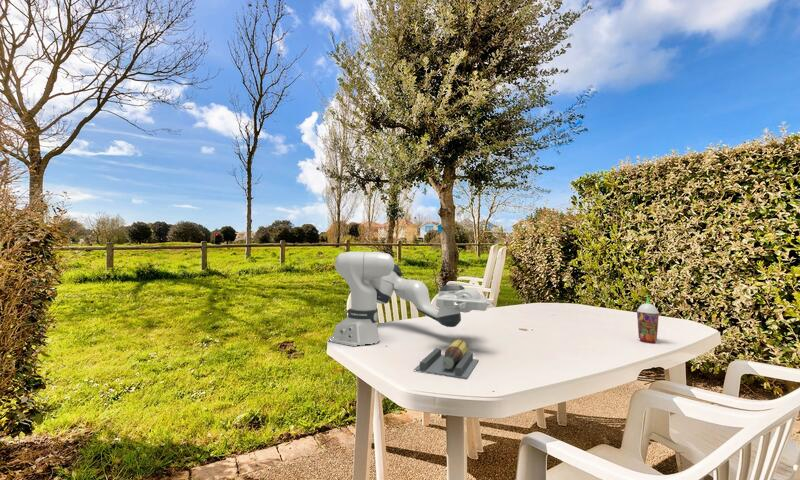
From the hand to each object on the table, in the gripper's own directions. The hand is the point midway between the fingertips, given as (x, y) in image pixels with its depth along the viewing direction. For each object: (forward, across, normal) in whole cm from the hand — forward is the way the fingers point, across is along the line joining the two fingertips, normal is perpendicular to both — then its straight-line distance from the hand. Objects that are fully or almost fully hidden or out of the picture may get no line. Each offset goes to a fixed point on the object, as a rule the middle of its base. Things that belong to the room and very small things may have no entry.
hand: (457, 306), depth 140 cm
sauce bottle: (+1, -2, -15) cm, 15 cm away
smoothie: (-58, -74, -19) cm, 96 cm away
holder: (+13, 0, -19) cm, 23 cm away
